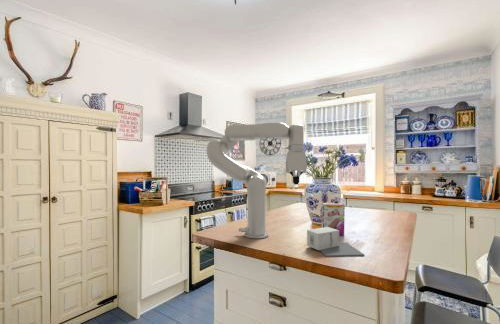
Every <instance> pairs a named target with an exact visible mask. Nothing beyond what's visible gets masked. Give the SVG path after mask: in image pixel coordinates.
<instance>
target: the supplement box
mask: <svg viewBox="0 0 500 324" xmlns="http://www.w3.org/2000/svg"><path fill="white" fill-rule="evenodd" d="M306 236H307V237H306V239H307V241H306V246H307V247H309V248H312V249H314V250H317V251H319V250H322V249H327V248H332V247H337V246H339V243H340V236H339V230H336V229H333V228H330V227H324V228H322V227H319V228H317V227H316V228H312V229H307V230H306Z"/></svg>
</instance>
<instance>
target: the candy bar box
mask: <svg viewBox="0 0 500 324" xmlns="http://www.w3.org/2000/svg"><path fill="white" fill-rule="evenodd" d="M345 207H346V206H345V204H343V203H335V202H334V203H330V202H329V203H328V202H322V203H321V228H324V227H330V228H333V229H336V230H339V237H340V236H343V237H344V236H345V209H346V208H345Z"/></svg>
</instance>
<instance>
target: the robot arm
mask: <svg viewBox="0 0 500 324" xmlns="http://www.w3.org/2000/svg"><path fill="white" fill-rule="evenodd" d="M266 138H267V139H269V138H270V139H273V138H274V139H275V138H276V139H277V140H281V141H282V140H283V141H284V140H288V146H285V149H286V150H288V151H287V152H286V161H285V173H287V174H290V175H291V176H292V183H293V185H299V183H300V177H301V176H302V175H303V174H306V173H307V169H308V165H307V164H308V163H307V153H306V151H304V126H303V125H302V124H297V123H296V124H295V123H294V124H290V125H287V124H286V123H284V122H264V123H251V124H230V125H227V126H226V127H225V129H224V135H223V136H222V137H221V138H220V139H212V140H210V141H209V142H208V143H207V145H206V155H207V159H208V161H209V162H210V163H211V164H212V166H214V168H217V170H219V171H220V172H222V173H223V174H225V175H226V176H228V177H229V178H231V179H232V180H234V181H235V182H237V183H242V184H244V185H245V186H246V192H247V193H246V195H247V199H246V200H247V202H246V203H247V225H246V227H245V226H244V227H238V232H241V233H244V236H245V237H246V238H249V239H255V240H256V239H264V238H267V237H269V235H270V234H269V232H268V231H266V225H267V224H266V221H267V220H266V215H267V214H266V211H267V210H266V209H267V208H266V205H267V203H266V198H267V196H266V187H267V183H268V182H267V179H266V177H265V176H264V175H262V174H261V173H259V172H257V171H256V170H254V169H252V168H251V167H249V166H248V165H245V164H243V163H242V164H241V163H240V162H237V161H236V160H234V159H232V158H231V157H229V156H228V155H226V154H228V153H229V152H230V151H231V150H232V149H233V148H234V147H235V146H236V145H238V143H239V142H240V141H258V140H261V139H266Z"/></svg>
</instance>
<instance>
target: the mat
mask: <svg viewBox="0 0 500 324" xmlns="http://www.w3.org/2000/svg"><path fill="white" fill-rule="evenodd" d="M318 251H319V252H320V253H321V254H322V255H323V256H324V257H326V258H330V257H333V258H334V257H338V258H339V257H365V253H363V252H361V251H360V250H358V249H357V248H356V247H354V246H352V245H351V244H349V243H348V242H339V246H337V247H332V248H327V249H322V250H318Z"/></svg>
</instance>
